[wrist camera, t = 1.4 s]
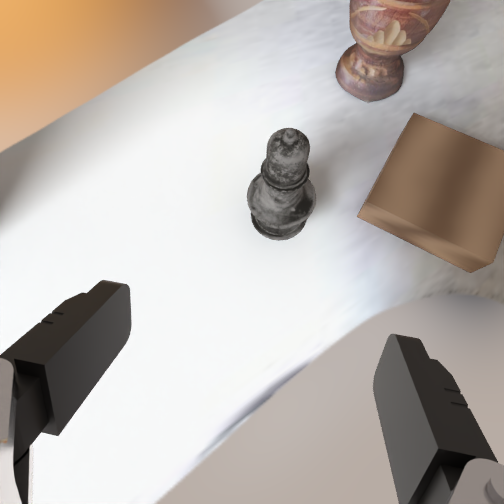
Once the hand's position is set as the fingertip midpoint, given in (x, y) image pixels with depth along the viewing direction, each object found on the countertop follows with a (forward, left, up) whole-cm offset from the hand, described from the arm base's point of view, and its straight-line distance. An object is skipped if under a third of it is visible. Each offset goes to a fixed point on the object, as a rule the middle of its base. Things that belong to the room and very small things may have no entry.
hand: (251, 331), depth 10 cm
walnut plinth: (+7, +21, -18) cm, 29 cm away
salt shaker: (-5, +12, -19) cm, 23 cm away
